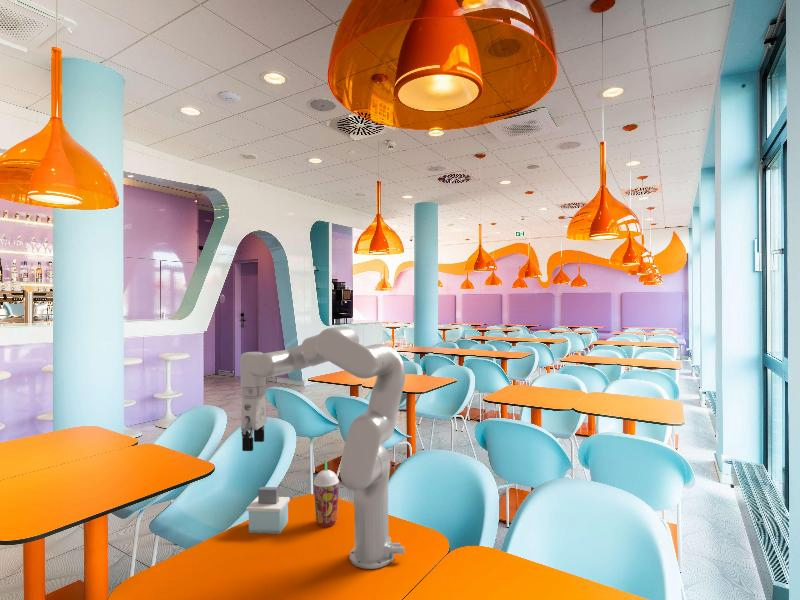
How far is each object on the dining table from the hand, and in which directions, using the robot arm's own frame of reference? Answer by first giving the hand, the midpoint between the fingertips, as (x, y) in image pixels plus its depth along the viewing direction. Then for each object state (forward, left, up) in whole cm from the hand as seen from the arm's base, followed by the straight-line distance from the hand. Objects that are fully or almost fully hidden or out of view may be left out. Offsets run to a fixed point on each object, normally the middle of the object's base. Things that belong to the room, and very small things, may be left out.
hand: (253, 446), depth 148 cm
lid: (-3, -5, -21) cm, 22 cm away
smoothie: (-21, -9, -28) cm, 36 cm away
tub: (-3, -5, -28) cm, 28 cm away
